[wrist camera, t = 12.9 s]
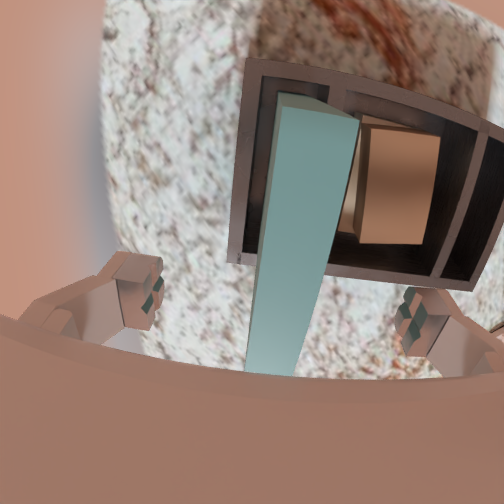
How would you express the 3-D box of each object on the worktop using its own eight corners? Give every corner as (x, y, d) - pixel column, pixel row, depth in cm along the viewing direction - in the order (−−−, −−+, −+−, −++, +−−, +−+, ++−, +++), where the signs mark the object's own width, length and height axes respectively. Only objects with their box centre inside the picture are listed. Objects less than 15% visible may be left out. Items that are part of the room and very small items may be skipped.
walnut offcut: (410, 228, 23) (421, 244, 21) (352, 227, 23) (359, 243, 21) (424, 130, 19) (440, 137, 17) (361, 122, 19) (371, 128, 17)
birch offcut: (396, 227, 26) (405, 241, 24) (332, 217, 26) (337, 230, 24) (422, 129, 21) (436, 135, 19) (354, 111, 21) (363, 114, 19)
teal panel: (285, 214, 26) (292, 376, 12) (261, 211, 26) (244, 371, 12) (305, 94, 21) (359, 120, 7) (277, 90, 21) (282, 106, 7)
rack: (444, 253, 28) (472, 291, 23) (231, 222, 28) (219, 261, 23) (485, 124, 21) (528, 141, 16) (247, 63, 21) (237, 57, 16)
